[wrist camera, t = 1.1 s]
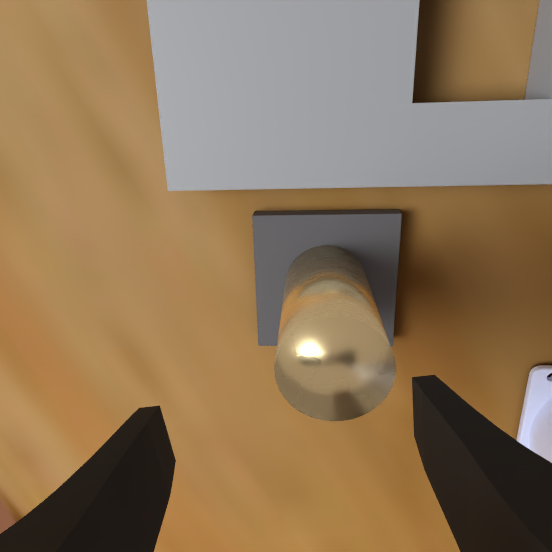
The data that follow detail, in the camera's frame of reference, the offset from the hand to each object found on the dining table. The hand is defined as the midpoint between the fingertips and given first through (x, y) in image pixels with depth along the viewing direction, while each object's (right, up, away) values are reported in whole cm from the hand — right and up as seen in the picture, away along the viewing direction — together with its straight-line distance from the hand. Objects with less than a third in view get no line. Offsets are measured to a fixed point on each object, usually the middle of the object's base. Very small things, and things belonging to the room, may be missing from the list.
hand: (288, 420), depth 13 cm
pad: (+2, +4, +11) cm, 12 cm away
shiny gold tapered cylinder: (+2, +4, +10) cm, 11 cm away
